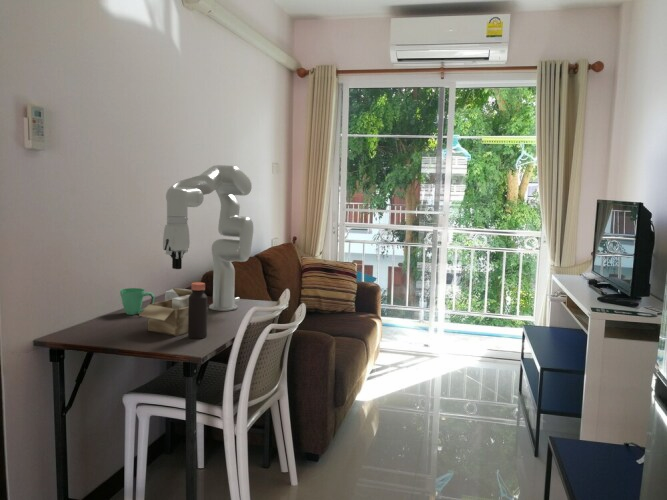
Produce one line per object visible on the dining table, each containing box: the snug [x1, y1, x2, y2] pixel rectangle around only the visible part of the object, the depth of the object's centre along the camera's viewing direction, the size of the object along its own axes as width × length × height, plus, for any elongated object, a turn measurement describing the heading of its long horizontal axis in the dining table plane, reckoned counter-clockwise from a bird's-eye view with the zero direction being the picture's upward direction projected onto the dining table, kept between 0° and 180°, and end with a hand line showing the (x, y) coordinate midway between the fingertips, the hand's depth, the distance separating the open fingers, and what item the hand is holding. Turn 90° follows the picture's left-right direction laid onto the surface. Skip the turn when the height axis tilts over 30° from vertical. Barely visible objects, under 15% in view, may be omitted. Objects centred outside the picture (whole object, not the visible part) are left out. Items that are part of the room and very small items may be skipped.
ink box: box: [164, 287, 192, 301], centre depth 232 cm, size 8×8×12 cm
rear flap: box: [171, 287, 192, 297], centre depth 219 cm, size 6×12×1 cm
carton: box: [147, 294, 191, 337], centre depth 214 cm, size 16×15×13 cm
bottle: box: [187, 281, 208, 340], centre depth 205 cm, size 7×7×20 cm
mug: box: [119, 287, 156, 316], centre depth 236 cm, size 15×10×10 cm
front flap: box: [138, 303, 174, 321], centre depth 205 cm, size 6×12×1 cm
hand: (176, 268), depth 212 cm, fingers closed
